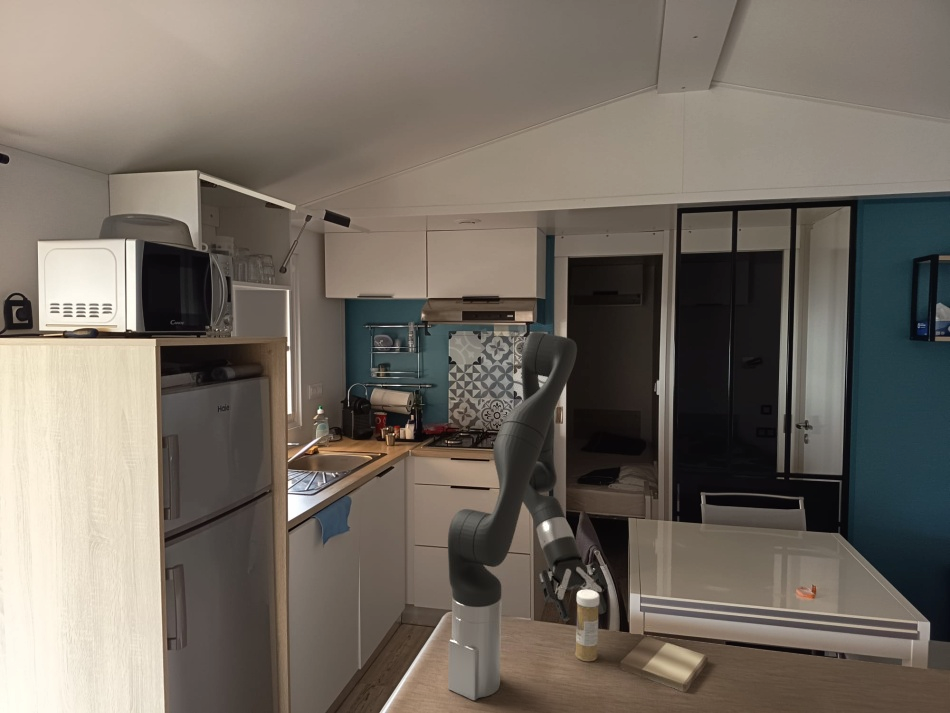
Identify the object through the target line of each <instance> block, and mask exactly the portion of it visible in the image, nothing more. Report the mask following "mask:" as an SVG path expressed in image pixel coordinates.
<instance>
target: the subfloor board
mask: <svg viewBox="0 0 950 713" xmlns="http://www.w3.org/2000/svg"><path fill="white" fill-rule="evenodd" d="M707 664H708V655H707V654H703V653H700V652H697V651H694V650H692V649H689V648H685V647H681V646H678V645H676V644H673V643H669V642H666V641H663V640H660V639H658V638H657V639H656V638H654V637H651V636H647V635H646V636H645V637H644V638H643V639H641V641H639V643H638V644H637V645H636V646H635V647H634V648H633V649H631V651H629V653H628V654H627V655H625V657H624V658H623V659H622V660H621V661H620V670H622V669H624V670H623V671H625V670H626V671H625V672H627V671H628V672H627V673H631V674H633V673H634V674H633V675H635V676H638V675H639V676H638V677H641V676H642V677H641V678H644V679H647V678H648V679H647V680H649V679H650V681H652V682H655V683H658V684H660V685H664V686H667V687H669V688H671V687H672V689H674V688H675V689H674V690H678V691H680V692H682V693H686V692H687V691H689V689H690V687H691V685H692V684H693V683H694V681H695V680H696V679H697V678H698V676H699V674H700V673H701V672H702V671H703V670H704V668H706V666H707Z"/></svg>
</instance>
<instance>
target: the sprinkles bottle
mask: <svg viewBox="0 0 950 713" xmlns="http://www.w3.org/2000/svg"><path fill="white" fill-rule="evenodd" d="M576 603H577V604H576V605H577V610H576V612H577V613H576V615H577V616H576V632H575V638H576V639H575V640H576V645H575V647H576V648H575V653H574V655H575V657H576V658H577V659H578V660H580V661H582V662H593V661H596V659H598V637H599V636H598V634H599V612H598V606H599V594H598V593H597V592H595V591H593V590H587V589H585V590H584V589H581V590H578V591H577V593H576Z"/></svg>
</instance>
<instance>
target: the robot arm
mask: <svg viewBox="0 0 950 713" xmlns="http://www.w3.org/2000/svg"><path fill="white" fill-rule="evenodd" d="M521 352H522V353H521V360H520V362H521V383H522V397H523V398H522V399H523V401H522V402H521V403H520V404H518V405H517V406H515V407H514V408H512V409H511V411H509V413H508V414H506V416H505V417H504V418H503V421H502V423H501V426H500V427H499V430H498V433H497V435H496V438H495V440H494V444H493V448H492V449H493V451H492V452H493V461H494V466H495V469H496V472H497V473H496V474H497V479H498V484H499V485H498V486H499V488H498V489H499V490H498V496H497V500H496V503H495V507H494V509H493V511H492V513H489V512H485V511H480V510H475V509H471V508H470V509H469V508H465V509H460V510H459V511H458V512H456V513H455V515H454V516H453V518H452V519H451V521H450V525H449V528H448V535H447V553H448V554H447V558H448V580H449V585H450V587H451V590H452V592H451V594H452V597H451V598H452V600H451V602H452V603H451V604H452V608H451V610H452V612H451V638H450V639H449V641H448V678H447V679H448V681H447V682H448V690H450V691H451V692H454V693H456V694H458V695H461V696H462V697H465V698H467V699H469V700H472V701H476V700H477V699H479V698H481V699H482V698H485V697H490V696H491V695H494V694H495V693H496V692H497V691H498V690H499V688H500V687H501V648H502V647H501V644H502V643H501V636H502V634H501V633H502V632H501V631H502V629H501V628H502V583H501V581H500V579H499V578H498V577H497V576H496V575H494V574H493V573H492V572H491V571H489V569H488V568H487V567H491V568H496V567H498V566H500V565H501V564H502V563H503V562H504V561H505V559H506V557H507V556H508V554H509V551H510V549H511V546H512V542H513V539H514V536H515V533H516V528H517V524H518V521H519V517H520V513H521V510H522V505H524V506H525V508H526V509H527V510H528V511H529V513H530V516H531V518H532V521H533V524H534V527H535V529H536V533H537V537H538V541H539V544H540V545H539V546H540V547H541V549H542V552H543V555H544V558H545V561H546V563H547V566H548V568H549V569H550V571H548V570H546V569H543V570H542V571H541V573H540V574H539V575H538V576H537V577H538V580H539V581H538V582H539V583H540V588H541V590H542V594H543V598H544V601H545V603H554V604H555V606H556V609H557V612H558V615H559V618H560V619H561V620H563V621H564V622H568V621H569V620H571V616H572V615H571V612H570V610H569V608H568V605H567V602H566V599H564V596H565V592H566V591H570V590H572V589H574V590H575V589H576V590H577V589H580V588H581V590H585V589H587V590H593V591H595V592H597V593H598V594H599V606H598V615H602V614H604V613H605V612H606V611H607V602H606V601H605V598H604V595H603V592H604V591H605V590H606V589H607V588H608V587H609V586H608V585H609V584H608V583H607V580H606V578H605V576H604V574H603V571H602V570H601V567H600V565H599V563H598V562H597V561H593V562H592V563H590V564H586V563H584V561H583V558H582V553H581V551H580V549H579V545H578V543H577V541H576V538H575V536H574V533H573V530H572V528H571V526H570V524H569V523H568V521H567V519H566V516H565V513H564V511H563V509H562V506H561V503H560V502H559V500H558V499H557V498H556V497H555V496H550V495H543V494H542V493H547V492H550V491H552V490H553V489H554V488H555V486H556V484H557V482H558V481H557V480H558V479H557V471H556V467H555V463H554V462H555V460H554V454H553V446H554V439H555V422H554V417H553V415H554V413H555V410H556V407H557V405H558V402H559V400H560V398H561V396H562V393H563V391H564V389H565V387H566V385H567V383H568V380H569V378H570V375H571V373H572V370H573V368H574V365H575V362H576V358H577V355H578V354H577V353H578V347H577V343H576V342H575V341H574V340H573V339H572V338H569V337H566V336H560V335H555V334H549V333H544V332H540V331H532V332H531V333H529V334H528V335H527V337H526V339H525V341H524V343H523V347H522V351H521ZM539 376H540V377H545V378H546V380H545V381H544V383H543V384H542V386H541V387H540V381H539ZM486 566H487V567H486ZM552 580H553V581H554V582H556V583H557V584H556V588H555V592H554V590H553V585H552V583H551V581H552Z"/></svg>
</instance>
